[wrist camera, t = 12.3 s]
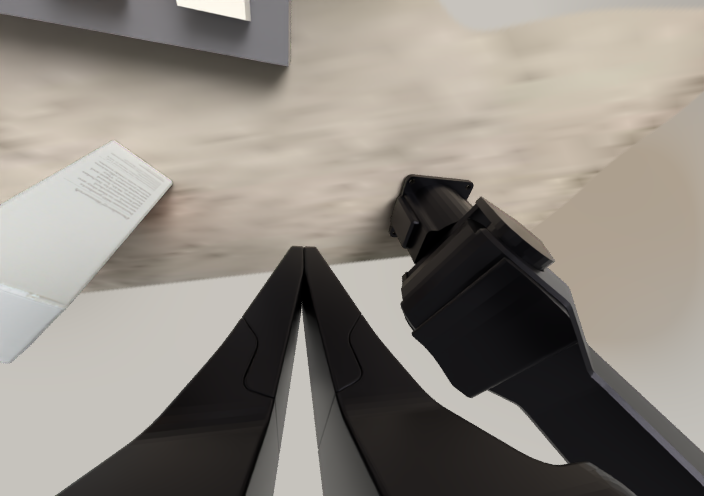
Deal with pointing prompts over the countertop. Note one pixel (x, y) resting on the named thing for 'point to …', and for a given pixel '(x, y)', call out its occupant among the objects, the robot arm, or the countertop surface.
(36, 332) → the skincare box
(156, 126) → the countertop surface
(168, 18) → the block
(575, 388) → the robot arm
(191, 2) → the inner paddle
